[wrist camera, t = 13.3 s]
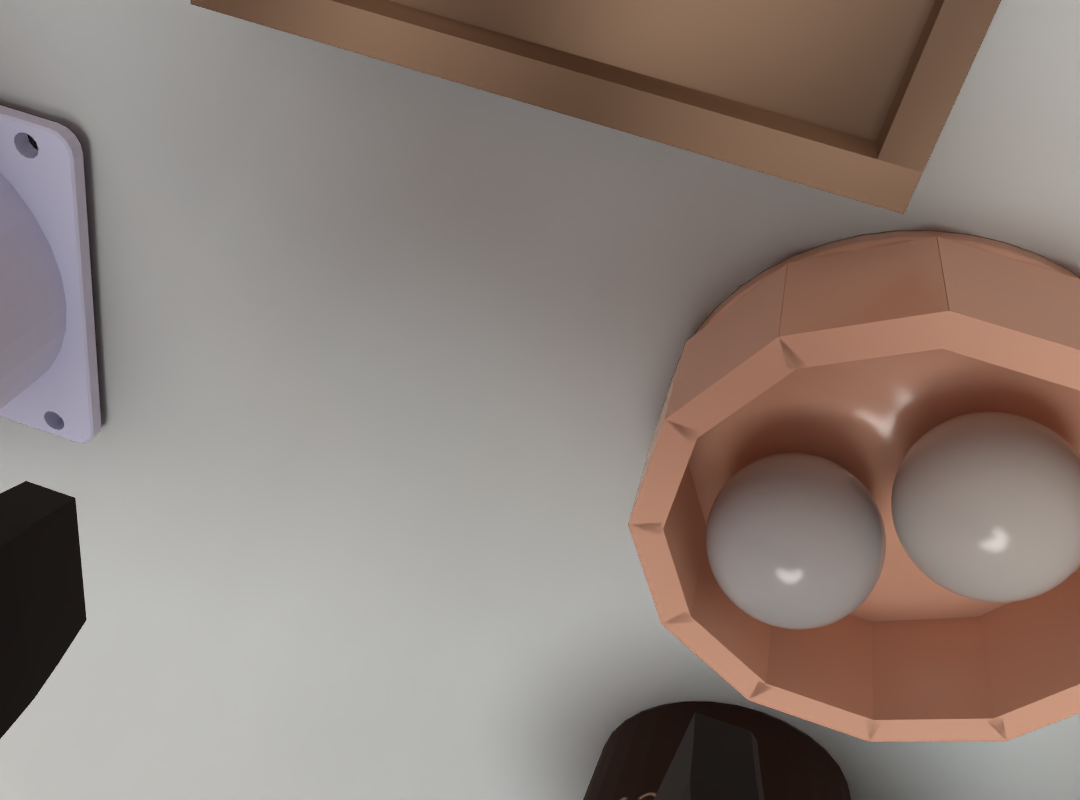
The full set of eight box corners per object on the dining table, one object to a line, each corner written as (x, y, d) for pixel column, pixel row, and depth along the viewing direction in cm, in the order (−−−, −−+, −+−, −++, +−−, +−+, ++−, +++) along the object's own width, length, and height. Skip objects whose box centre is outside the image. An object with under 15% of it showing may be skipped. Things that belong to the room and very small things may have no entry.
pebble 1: (784, 456, 21) (667, 553, 20) (808, 390, 18) (672, 502, 17) (901, 573, 20) (780, 680, 19) (946, 522, 17) (806, 647, 16)
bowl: (616, 540, 23) (586, 644, 20) (744, 166, 17) (725, 243, 15) (1017, 673, 22) (1040, 800, 19) (1279, 323, 17) (1357, 434, 14)
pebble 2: (857, 476, 19) (869, 616, 17) (927, 354, 17) (952, 495, 15) (1020, 513, 19) (1055, 657, 17) (1112, 396, 17) (1165, 544, 15)
